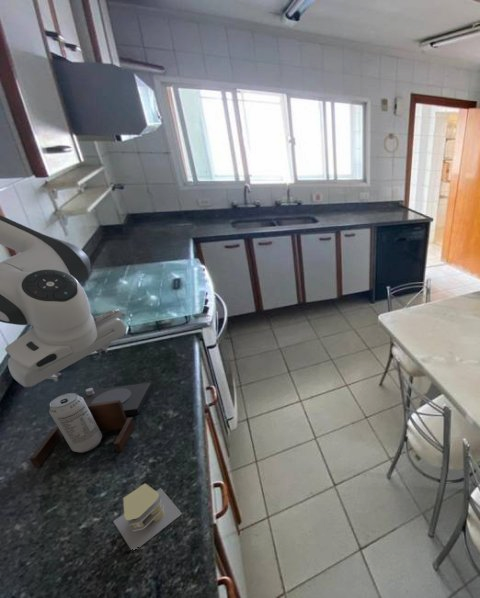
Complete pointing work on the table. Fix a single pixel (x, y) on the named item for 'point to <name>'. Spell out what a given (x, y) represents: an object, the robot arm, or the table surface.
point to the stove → (121, 396)
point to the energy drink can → (75, 422)
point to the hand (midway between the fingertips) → (80, 364)
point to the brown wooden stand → (106, 420)
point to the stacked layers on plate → (145, 515)
